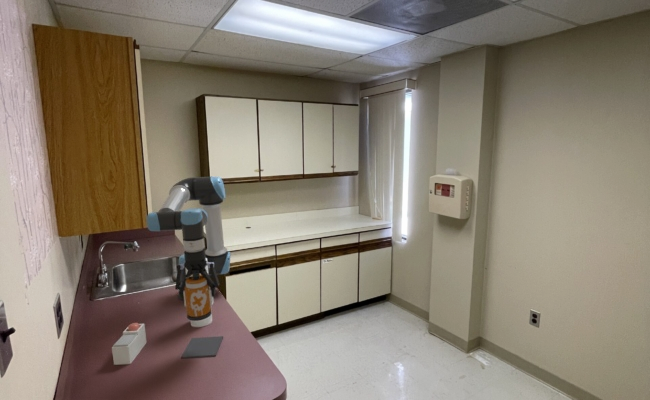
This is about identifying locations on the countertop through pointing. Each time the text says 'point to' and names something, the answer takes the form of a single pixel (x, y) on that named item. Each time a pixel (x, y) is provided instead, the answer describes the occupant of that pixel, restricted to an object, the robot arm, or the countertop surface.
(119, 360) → the white rectangular box
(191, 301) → the canister
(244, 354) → the countertop surface
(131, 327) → the salmon pink capsule
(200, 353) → the drip mat
